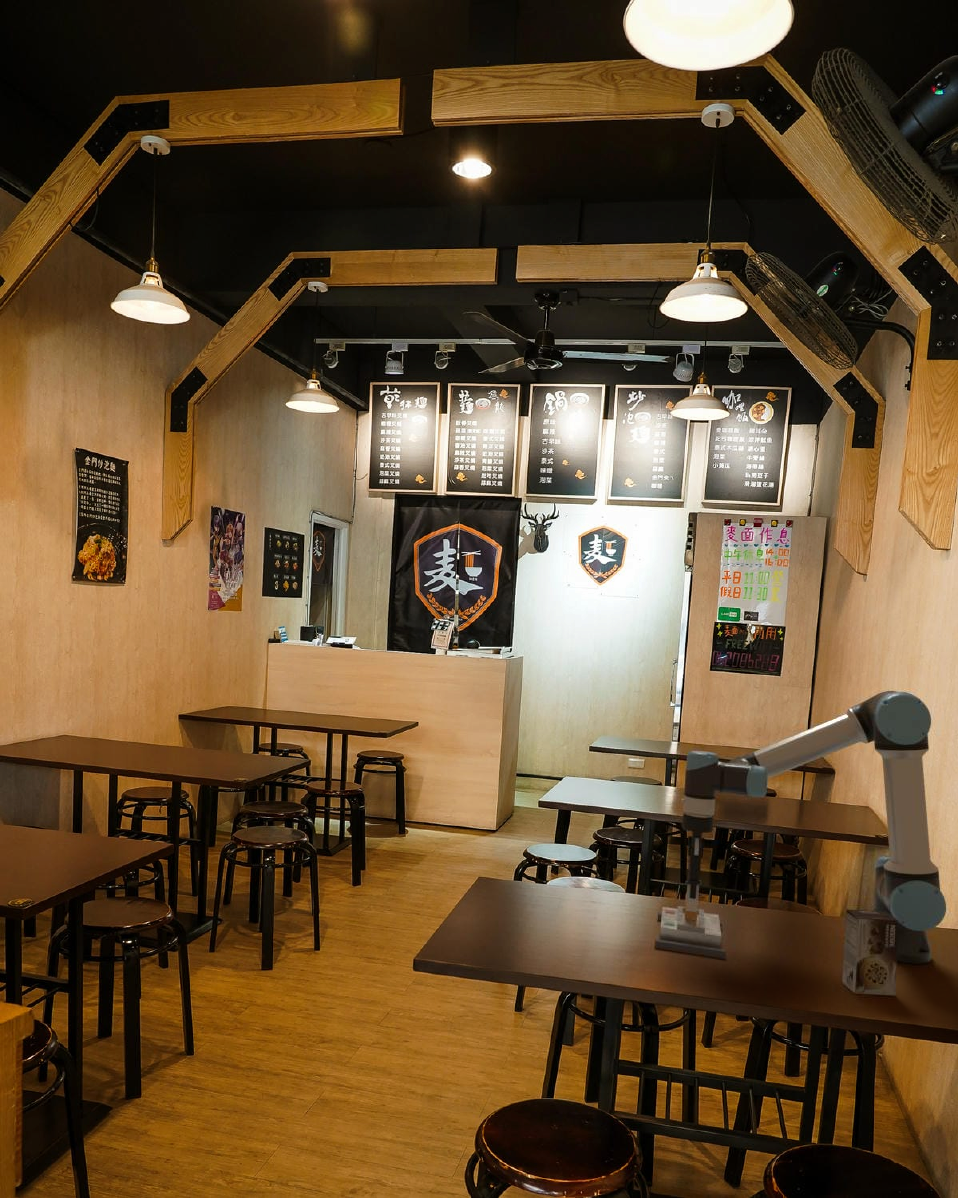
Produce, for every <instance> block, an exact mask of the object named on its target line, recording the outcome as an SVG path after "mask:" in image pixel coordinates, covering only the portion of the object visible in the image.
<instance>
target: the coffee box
mask: <svg viewBox="0 0 958 1198" xmlns="http://www.w3.org/2000/svg"><path fill="white" fill-rule="evenodd" d="M845 910H846V912H845V913H846V914H845V929H844V931H845V932H844V933H845V934H844V947H843V948H844V949H843V964H842V965H843V967H842V968H843V969H842V980H841V981H842V984H843V985H844V986H846V987H847V989H849V990H850V991H852V992H853V994H859V995H860V994H861V995H862V994H863V995H875V996H876V995H880V996H896V995H897V994H896V993H897V991H896V990H897V972H898V971H897V969H898V968H897V966H898V961H897V950H898V927H899V920H897V919H895V918H894V917H893V916H891V915H890V914H888V913H887V912H881V911H873V910H865V909H862V910H861V909H849V908H848V909H845Z"/></svg>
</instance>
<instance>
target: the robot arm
mask: <svg viewBox="0 0 958 1198" xmlns="http://www.w3.org/2000/svg"><path fill="white" fill-rule="evenodd" d="M931 726H932V716H931V712H930V710H929V708H928V706H927V705H926V703H924V701H922V700H921V699H920V698H919V697H917V696H916V695H914V694H911V693H910V692H907V691H906V692H905V691H895V690H885V691H882V692H879V693H876V694H875V695H874V696H871V697H869V698H868V699H866V700H864V701H863V702H860V703H858V704H856V705H854V706H851V707H848V708H847V710H846V713H845V714H843V715H839V716H838V717H835V718H833V719H831V720H828V721H826V722H822V723H821V724H818V725H816V726H813V727H810V728H809V729H806V730H804V731H801V732H799V733H796V734H794V735H791V736H790V737H789V736H788V737H787V738H784V739H782V740H779V741H777V742H775V743H772V744H770V745H769V744H768V746H764V747H762V748H760V749H758V750H755V751H753V752H751V753H748V754H745V755H742V756H739V757H737V756H736V757H734V758H732V759H731V760H729V762H724V761H719V756H718V754H717V753H716V752H711V751H705V750H704V751H703V750H691V751H689V752H688V753H687V757H686V764H685V772H684V773H685V776H684V789H683V790H684V791H683V793H684V796H683V797H684V798H681V799H680V801H681V803H682V804H683V808H682V810H683V812H684V813H682V818H681V819H682V820H681V828H682V829H683V830H685V831H687V832H691V836H690V835H689V836H687V837H688V838H687V843H688V844H687V845H688V849H687V850H688V852H687V853H688V856H689V860H688V861H689V862H688V873H687V877H688V878H687V880H685V881H684V882H685V883H684V884H685V885H687V887H686V895H687V901H686V911H691V912H697V908H698V909H699V892H700V891H699V890H700V884H702V880H701V879H700V877H701V866H702V858H703V856H704V848H705V845H706V840H705V837H702V836H703V834H709V833H710V834H711V833H712V832H713V831H714V820H715V818H714V817H713V816H714V815H715V808H716V806H715V805H716V794H717V793H719V794H722V793H723V794H730V795H736V796H744V797H745V796H746V797H750V798H755V797H756V798H764V797H765V796H766V795H767V792H768V791H767V790H768V779H770V778H772V777H776V776H778V775H781V774H782V773H785V772H788V771H791V770H792V769H796V768H798V767H801V766H803V765H805V764H808V763H810V762H812V761H813V762H814V761H815V760H818V759H821V758H823V757H825V756H828V755H831V754H833V753H836V752H839V751H840V750H843V749H846V748H849V747H851V746H853V745H855V744H858V743H863V744H870V743H872V742H873V743H874V751H876V753H878V754H879V755H880V756H881V758H882V770H883V783H884V785H883V786H884V797H885V808H886V809H885V811H886V813H885V814H886V824H887V835H888V837H887V838H888V848H889V856H879V857H878V858H877V859H876V864H875V866H874V867H875V868H874V870H875V875H874V877H875V878H874V897H873V909H872V911H881V912H887V913H888V914H890V915H891V916H893V917H894V918H895V919H897V920H899V927H898V950H897V963H898V962H899V963H906V964H912V965H913V964H915V965H918V964H919V965H920V964H921V965H922V964H927V963H930V962H931V960H932V948H931V945H930V941H929V937H928V934H927V931H929V930H932V929H934V928H936V927H937V926H939V925H940V923H942V921H943V920H944V919H945V916H946V913H947V903H946V899H945V896H944V894H943V892H942V891H941V883H940V871H939V867H938V866H936V864H935V863H934V862H932V860H931V852H930V851H931V850H930V840H929V839H930V838H929V825H928V813H927V812H928V811H927V799H926V788H925V777H924V776H925V775H924V774H925V773H924V762H923V760H924V759H923V758H924V755H926V753H927V752H928V751H929V749H930V748H929V747H930V746H929V732H930V730H931Z"/></svg>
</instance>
